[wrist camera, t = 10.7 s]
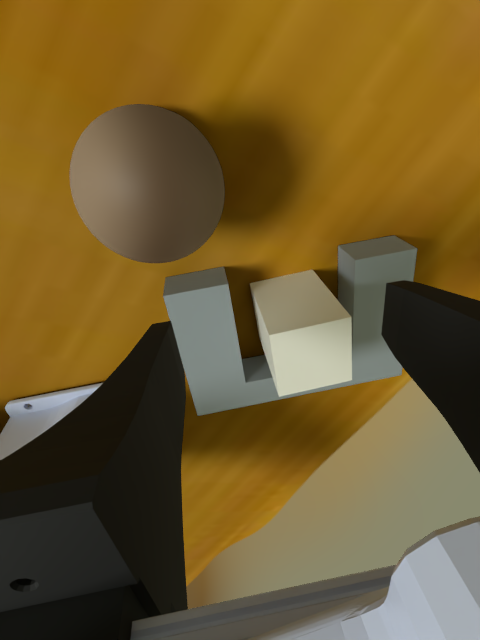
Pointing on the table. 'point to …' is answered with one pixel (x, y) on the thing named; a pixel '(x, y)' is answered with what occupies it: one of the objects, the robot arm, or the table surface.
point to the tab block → (302, 332)
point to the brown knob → (147, 183)
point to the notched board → (254, 373)
